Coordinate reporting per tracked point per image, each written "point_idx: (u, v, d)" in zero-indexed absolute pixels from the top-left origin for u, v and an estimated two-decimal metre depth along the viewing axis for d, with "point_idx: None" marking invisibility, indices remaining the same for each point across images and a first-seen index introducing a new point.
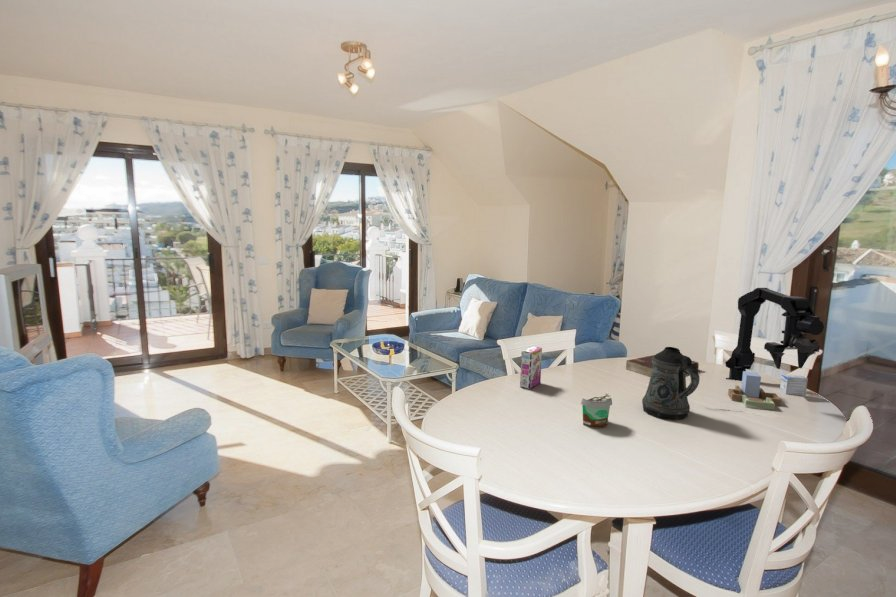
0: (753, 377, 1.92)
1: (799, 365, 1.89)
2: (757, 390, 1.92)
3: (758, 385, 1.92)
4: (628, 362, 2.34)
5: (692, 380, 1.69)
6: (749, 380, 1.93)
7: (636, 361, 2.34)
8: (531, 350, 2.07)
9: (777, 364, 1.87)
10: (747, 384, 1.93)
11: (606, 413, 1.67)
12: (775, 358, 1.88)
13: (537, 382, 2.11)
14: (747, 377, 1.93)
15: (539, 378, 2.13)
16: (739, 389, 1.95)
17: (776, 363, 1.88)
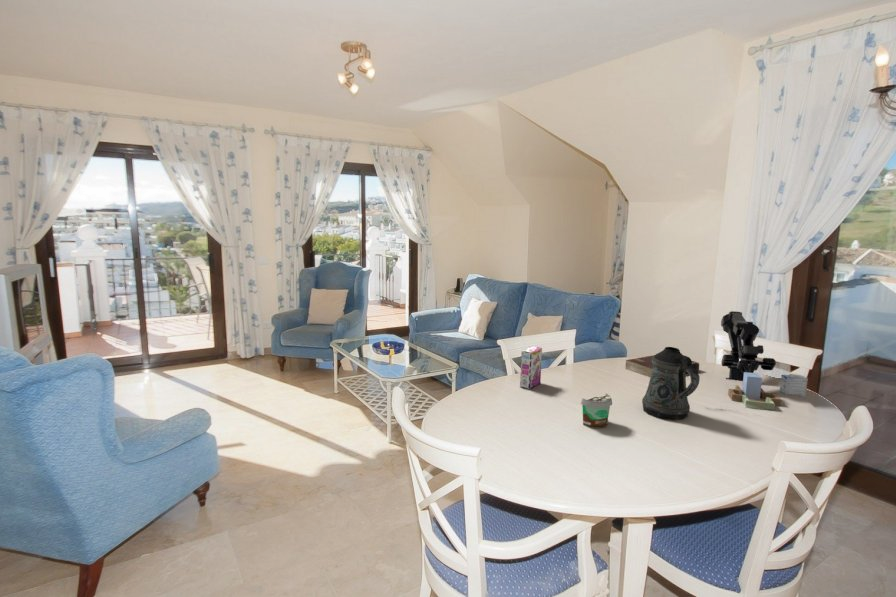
0: (754, 378, 1.91)
1: None
2: (758, 391, 1.91)
3: (759, 386, 1.90)
4: (627, 362, 2.35)
5: (692, 380, 1.69)
6: (750, 381, 1.91)
7: (635, 360, 2.35)
8: (531, 350, 2.07)
9: None
10: (748, 385, 1.92)
11: (606, 413, 1.67)
12: (744, 371, 2.00)
13: (537, 382, 2.11)
14: (748, 378, 1.91)
15: (539, 378, 2.13)
16: (739, 389, 1.95)
17: None
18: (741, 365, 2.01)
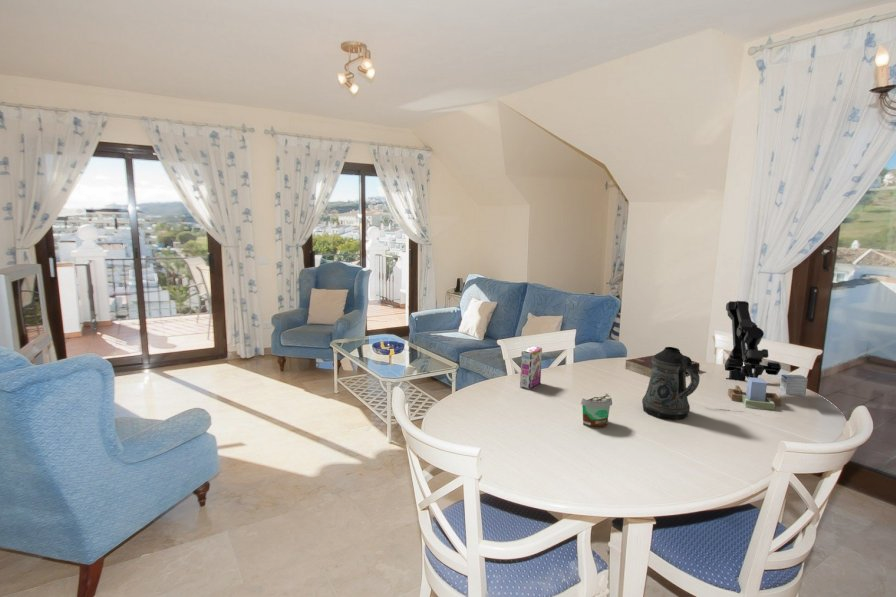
0: (759, 383, 1.84)
1: None
2: (763, 397, 1.84)
3: (764, 392, 1.84)
4: (627, 361, 2.35)
5: (692, 380, 1.69)
6: (754, 387, 1.85)
7: (635, 360, 2.35)
8: (531, 350, 2.07)
9: None
10: (752, 391, 1.85)
11: (606, 413, 1.67)
12: (748, 376, 1.93)
13: (537, 382, 2.11)
14: (752, 383, 1.85)
15: (539, 378, 2.13)
16: (739, 389, 1.95)
17: None
18: (745, 369, 1.95)
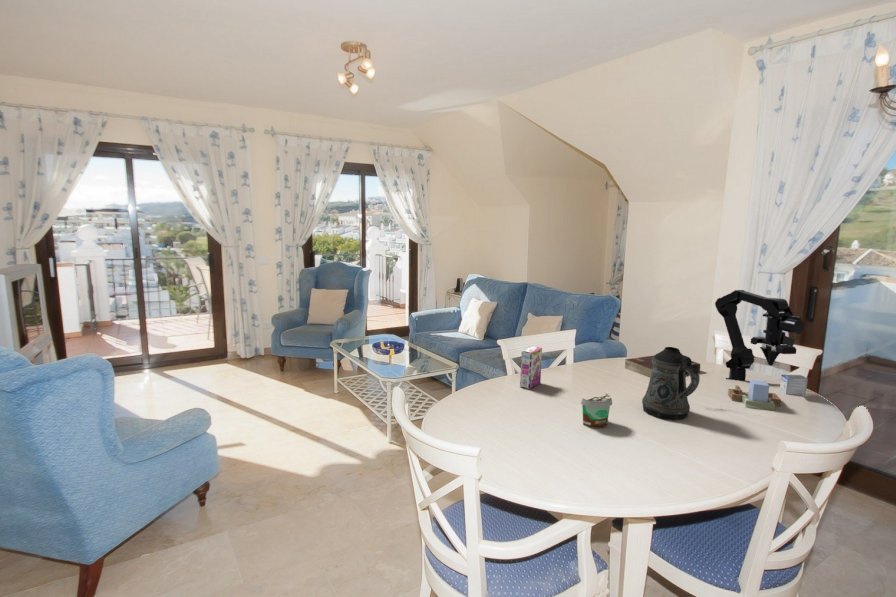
0: (761, 386, 1.81)
1: None
2: (765, 400, 1.81)
3: (766, 394, 1.81)
4: (627, 361, 2.36)
5: (692, 380, 1.69)
6: (756, 389, 1.82)
7: (635, 360, 2.36)
8: (531, 350, 2.07)
9: (773, 361, 2.01)
10: (754, 393, 1.82)
11: (606, 413, 1.67)
12: (772, 356, 2.00)
13: (537, 382, 2.11)
14: (754, 386, 1.82)
15: (539, 378, 2.13)
16: (739, 389, 1.95)
17: (772, 361, 2.00)
18: None
